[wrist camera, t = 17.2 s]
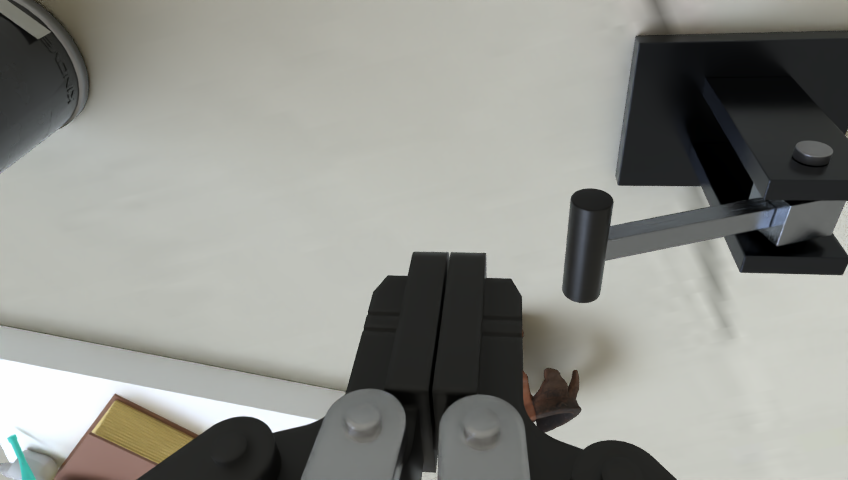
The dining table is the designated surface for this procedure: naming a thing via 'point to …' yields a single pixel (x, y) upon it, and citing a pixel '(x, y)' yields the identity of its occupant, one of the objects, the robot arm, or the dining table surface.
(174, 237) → the dining table surface
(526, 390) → the brown broken pot shard
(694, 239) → the lever
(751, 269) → the bracket
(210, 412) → the decorative still life
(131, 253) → the dining table surface
